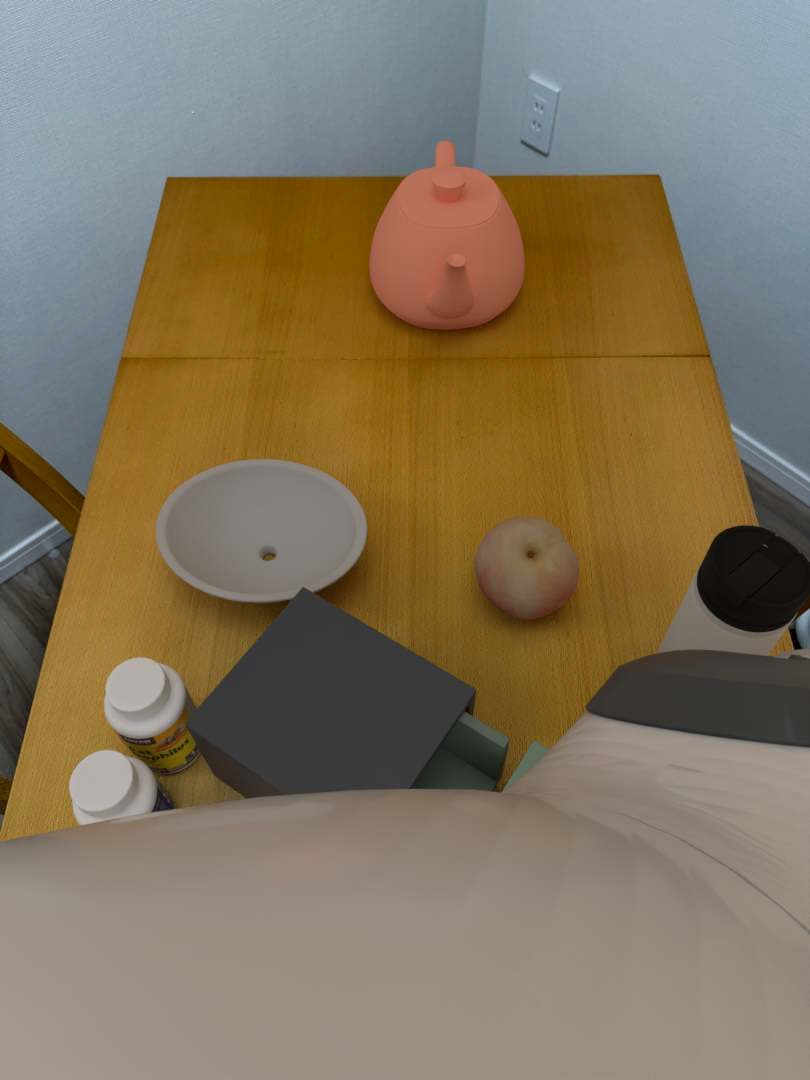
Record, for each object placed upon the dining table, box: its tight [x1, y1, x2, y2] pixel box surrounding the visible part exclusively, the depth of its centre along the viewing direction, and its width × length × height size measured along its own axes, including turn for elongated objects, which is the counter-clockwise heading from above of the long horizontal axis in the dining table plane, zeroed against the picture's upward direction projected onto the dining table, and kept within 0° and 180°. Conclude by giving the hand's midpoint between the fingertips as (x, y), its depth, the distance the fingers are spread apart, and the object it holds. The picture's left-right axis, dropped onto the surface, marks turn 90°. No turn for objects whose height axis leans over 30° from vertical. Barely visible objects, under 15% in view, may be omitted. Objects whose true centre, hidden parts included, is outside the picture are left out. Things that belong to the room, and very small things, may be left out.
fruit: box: [474, 516, 580, 621], centre depth 69 cm, size 8×8×8 cm
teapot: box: [368, 140, 525, 331], centre depth 89 cm, size 25×17×13 cm
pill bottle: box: [68, 749, 178, 826], centre depth 57 cm, size 5×5×10 cm
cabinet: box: [185, 587, 477, 799], centre depth 60 cm, size 15×13×10 cm
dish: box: [155, 458, 368, 604], centre depth 72 cm, size 18×14×5 cm
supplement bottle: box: [103, 656, 202, 775], centre depth 61 cm, size 6×6×10 cm
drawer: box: [412, 711, 551, 792], centre depth 57 cm, size 18×11×8 cm, turn 56°
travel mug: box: [656, 524, 810, 656], centre depth 58 cm, size 6×7×20 cm
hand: (559, 878), depth 54 cm, fingers closed, pressing on drawer
